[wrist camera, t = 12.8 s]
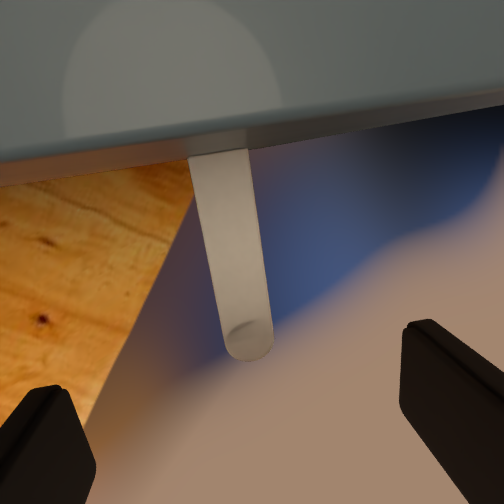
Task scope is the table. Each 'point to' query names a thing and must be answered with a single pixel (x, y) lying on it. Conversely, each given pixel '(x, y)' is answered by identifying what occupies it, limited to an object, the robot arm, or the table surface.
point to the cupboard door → (229, 98)
